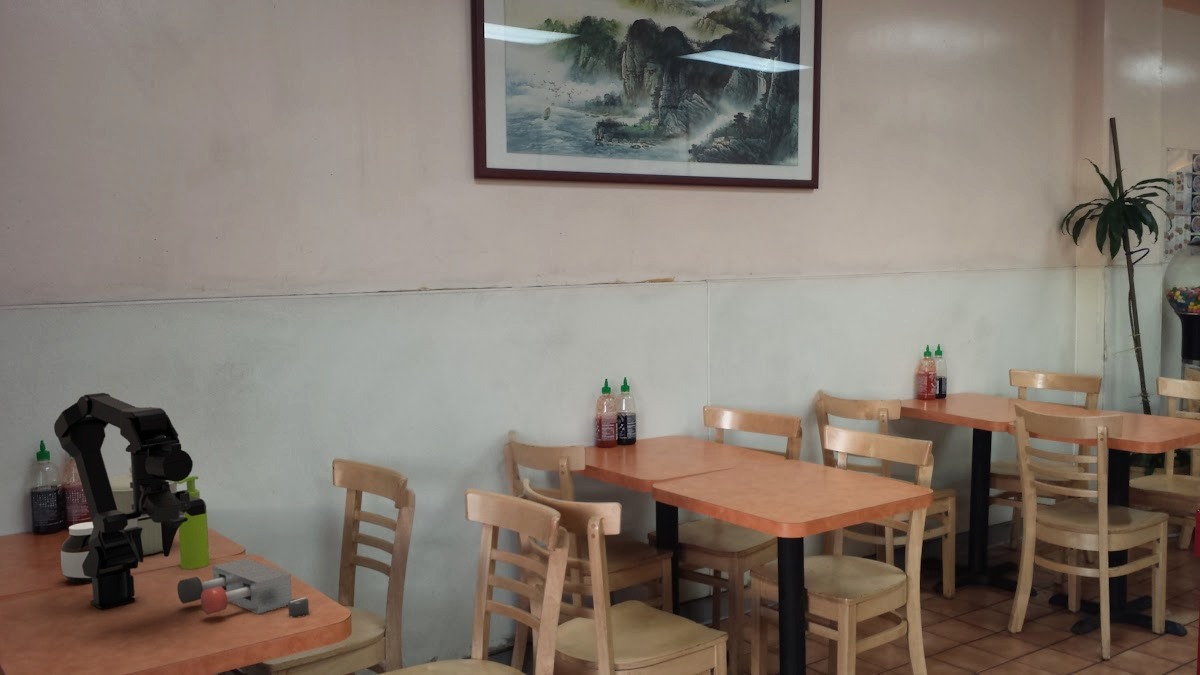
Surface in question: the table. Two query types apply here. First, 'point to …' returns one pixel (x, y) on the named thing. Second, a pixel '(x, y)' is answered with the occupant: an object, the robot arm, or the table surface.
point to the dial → (298, 607)
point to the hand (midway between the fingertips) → (153, 559)
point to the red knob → (221, 598)
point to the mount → (256, 584)
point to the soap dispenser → (193, 534)
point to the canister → (150, 529)
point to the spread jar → (76, 552)
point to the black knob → (196, 588)
